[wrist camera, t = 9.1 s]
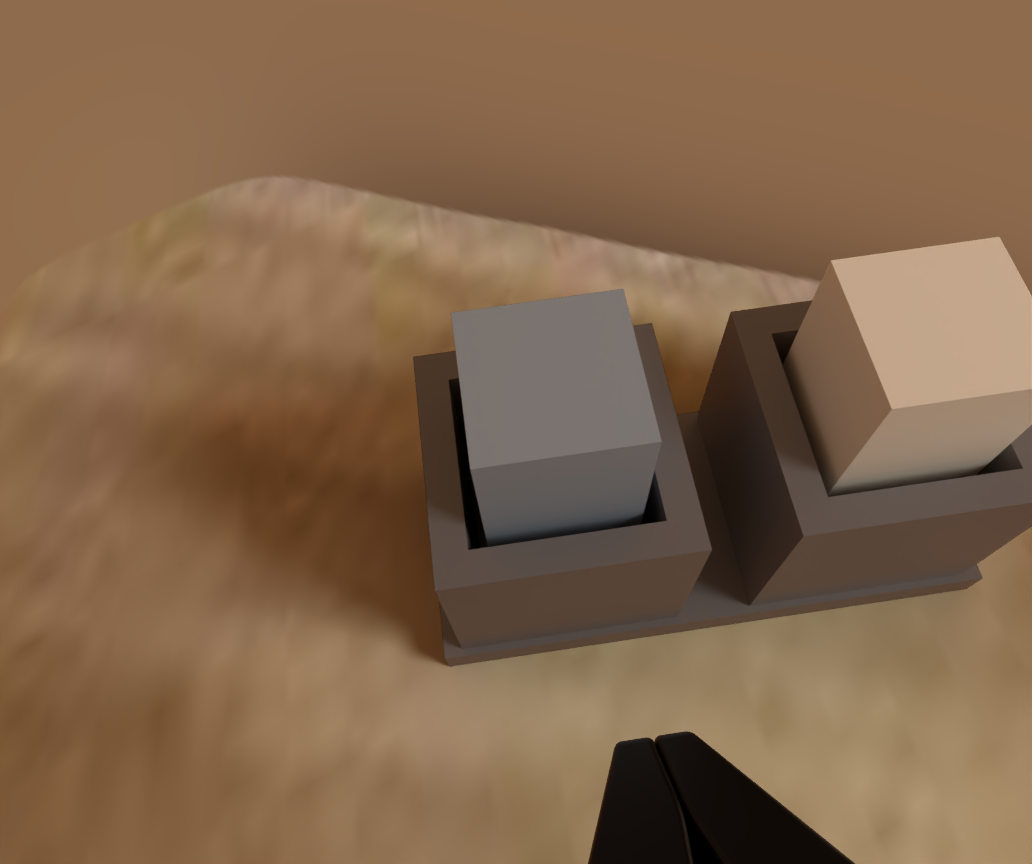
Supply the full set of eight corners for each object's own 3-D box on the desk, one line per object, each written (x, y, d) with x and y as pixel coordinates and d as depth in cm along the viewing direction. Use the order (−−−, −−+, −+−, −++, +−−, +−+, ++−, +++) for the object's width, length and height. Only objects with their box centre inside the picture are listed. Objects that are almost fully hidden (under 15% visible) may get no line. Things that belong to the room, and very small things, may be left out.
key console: (966, 588, 23) (1102, 501, 17) (449, 666, 23) (412, 603, 17) (887, 398, 26) (981, 269, 20) (429, 464, 26) (392, 352, 20)
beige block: (927, 518, 21) (1078, 382, 15) (794, 538, 21) (891, 409, 15) (880, 402, 23) (999, 236, 17) (757, 420, 23) (830, 260, 17)
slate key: (631, 562, 21) (661, 441, 15) (496, 582, 21) (470, 469, 15) (605, 441, 23) (623, 288, 17) (480, 459, 23) (451, 312, 17)
